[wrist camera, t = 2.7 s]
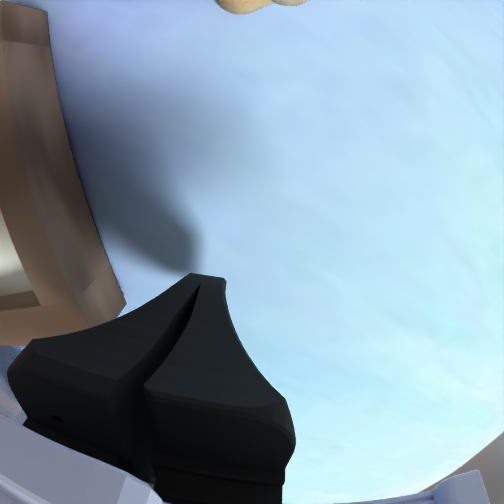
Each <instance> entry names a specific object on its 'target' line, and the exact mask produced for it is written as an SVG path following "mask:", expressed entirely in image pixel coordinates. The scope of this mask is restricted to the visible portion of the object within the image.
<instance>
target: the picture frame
mask: <svg viewBox="0 0 504 504" xmlns="http://www.w3.org/2000/svg"><path fill="white" fill-rule="evenodd" d="M126 304H127V303H126V301H125V298H124V296H123V294H122V292H121V289H120V287H119V285H118V283H117V280H116V278H115V276H114V273H113V271H112V268H111V266H110V263H109V261H108V259H107V256H106V253H105V251H104V248H103V246H102V243H101V241H100V238H99V235H98V233H97V230H96V227H95V224H94V221H93V219H92V216H91V213H90V210H89V207H88V204H87V201H86V198H85V195H84V192H83V189H82V185H81V182H80V179H79V176H78V172H77V169H76V165H75V162H74V158H73V155H72V151H71V147H70V143H69V140H68V136H67V132H66V127H65V123H64V119H63V114H62V110H61V105H60V100H59V95H58V90H57V85H56V79H55V74H54V68H53V61H52V54H51V47H50V39H49V30H48V20H47V12H45V11H41V10H38V9H34V8H30V7H27V6H23V5H19V4H15V3H10V2H6V1H1V2H0V345H5V346H27V345H28V343H29V342H30V341H31V340H32V339H38V338H45V337H52V336H58V335H64V334H69V333H73V332H77V331H81V330H85V329H88V328H91V327H95V326H97V325H100V324H103V323H105V322H108V321H111V320H114V319H116V318H117V317H118V315H119V314H120V313H121V311H122V310H123V308H124V307H125V305H126Z"/></svg>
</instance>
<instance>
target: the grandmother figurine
mask: <svg viewBox="0 0 504 504" xmlns="http://www.w3.org/2000/svg"><path fill="white" fill-rule="evenodd" d="M307 1H309V0H218V2H219V4H220V5H221V6H222V7H223V8H224V9H225V10H227V11H229V12H231V13H234V14H248V13H251V12H254V11H256V10H258V9H261V8H263V7H265V6H267V5H269V4H271V3H273V2H274V3H277V4H280V5H285V6H297V5H300V4H303V3H306V2H307Z"/></svg>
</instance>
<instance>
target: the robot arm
mask: <svg viewBox="0 0 504 504" xmlns="http://www.w3.org/2000/svg"><path fill="white" fill-rule="evenodd" d="M225 290H226V280H225V279H224V278H220V277H214V276H207V275H201V274H195V273H189V274H188V275H187V276H185V277H184V278H182V279H181V280H180V281H178V282H177V283H176V284H174V285H173V286H171V287H170V288H169V289H167V290H166V291H164V292H163V293H161V294H160V295H159V296H157V297H155V298H154V299H152V300H150V301H149V302H147V303H146V304H144V305H142V306H141V307H139V308H137V309H135V310H133V311H131V312H129V313H127V314H125V315H123V316H121V317H118V318H116V319H114V320H111V321H108V322H105V323H103V324H100V325H97V326H95V327H91V328H88V329H85V330H81V331H77V332H73V333H69V334H64V335H58V336H52V337H45V338H38V339H32V340H31V341H30V342H29V343H28V345H27V346H26V347H25V348H24V349H23V351H22V352H21V353H20V354H19V355H18V357H17V358H16V359H15V360H14V361H13V363H12V364H11V365H10V366H9V368H8V371H7V377H8V382H9V385H10V387H11V390H12V392H13V393H14V395H15V397H16V399H17V401H18V402H19V404H20V406H21V407H22V410H21V412H20V413H19V415H18V416H17V418H16V419H15V421H13V420H11V419H10V418H8V417H6V416H4V415H1V414H0V504H282V485H283V484H284V482H285V468H286V466H287V464H288V462H289V460H290V458H291V456H292V454H293V453H294V450H295V445H296V437H295V431H294V425H293V421H292V417H291V414H290V411H289V408H288V405H287V402H286V399H285V398H284V397H283V396H282V395H281V394H280V393H279V392H278V391H277V390H276V389H274V388H273V387H272V386H271V384H270V383H269V382H268V381H267V380H266V379H265V378H264V376H263V375H262V374H261V373H260V371H259V370H258V369H257V367H256V366H255V364H254V363H253V361H252V360H251V359H250V357H249V356H248V354H247V353H246V351H245V349H244V347H243V345H242V344H241V342H240V340H239V337H238V335H237V333H236V331H235V328H234V326H233V323H232V320H231V317H230V314H229V310H228V306H227V302H226V295H225ZM336 504H490V501H489V498H488V495H487V493H486V489H485V486H484V483H483V480H482V477H481V474H480V471H479V470H473V471H470V472H467V473H463V474H459V475H455V476H452V477H449V478H447V479H446V480H444V481H442V482H441V483H440V484H438V485H437V486H436V487H435V488H434V489H433V490H432V491H427V492H423V493H418V494H412V495H407V496H401V497H395V498H388V499H381V500H373V501H363V502H352V503H336Z"/></svg>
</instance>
